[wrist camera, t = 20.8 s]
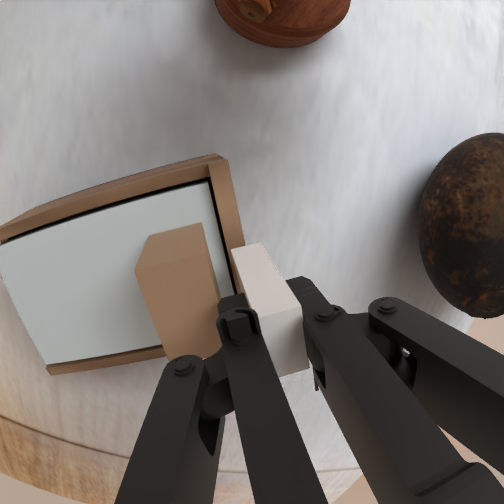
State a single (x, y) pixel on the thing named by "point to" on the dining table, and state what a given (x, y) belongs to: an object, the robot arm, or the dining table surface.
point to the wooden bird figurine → (283, 19)
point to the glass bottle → (466, 226)
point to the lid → (123, 278)
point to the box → (129, 189)
